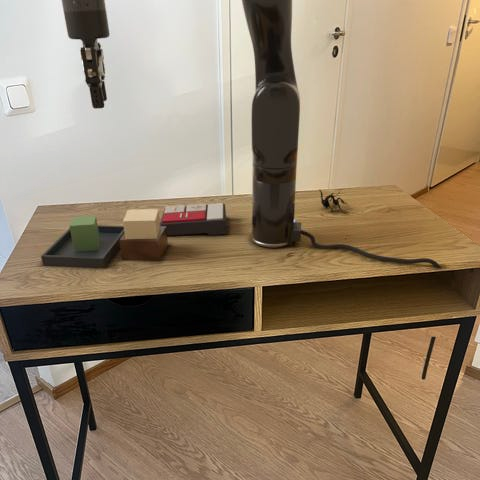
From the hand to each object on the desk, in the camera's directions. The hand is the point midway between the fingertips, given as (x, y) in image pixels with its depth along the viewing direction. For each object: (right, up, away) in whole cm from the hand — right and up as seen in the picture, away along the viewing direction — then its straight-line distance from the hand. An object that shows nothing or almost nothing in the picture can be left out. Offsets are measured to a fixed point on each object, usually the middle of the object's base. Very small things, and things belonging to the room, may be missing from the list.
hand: (100, 104), depth 99 cm
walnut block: (+7, -28, +9) cm, 31 cm away
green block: (-6, -27, +10) cm, 29 cm away
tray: (-6, -27, +11) cm, 30 cm away
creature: (+52, -14, +30) cm, 62 cm away
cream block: (+7, -24, +7) cm, 26 cm away
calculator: (+17, -21, +21) cm, 34 cm away
